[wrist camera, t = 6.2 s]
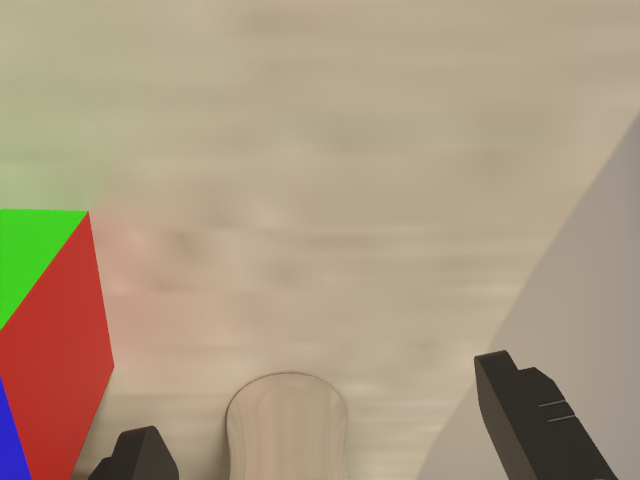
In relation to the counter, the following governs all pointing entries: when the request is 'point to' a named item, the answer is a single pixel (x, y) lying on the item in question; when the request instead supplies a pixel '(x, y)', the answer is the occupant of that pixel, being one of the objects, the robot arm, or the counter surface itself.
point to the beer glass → (287, 430)
